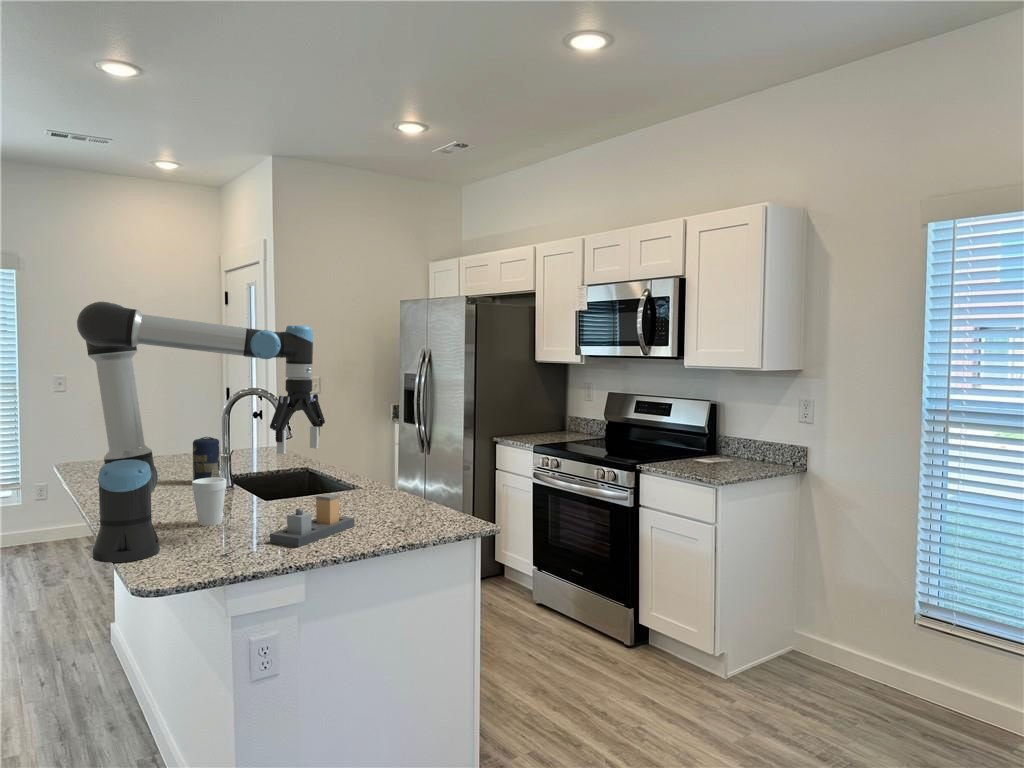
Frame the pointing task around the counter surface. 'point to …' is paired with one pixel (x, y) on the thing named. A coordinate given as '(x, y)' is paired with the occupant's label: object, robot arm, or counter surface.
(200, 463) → the canister
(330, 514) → the plug
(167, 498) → the counter surface
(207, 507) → the foam cup
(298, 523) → the gray fixture base
